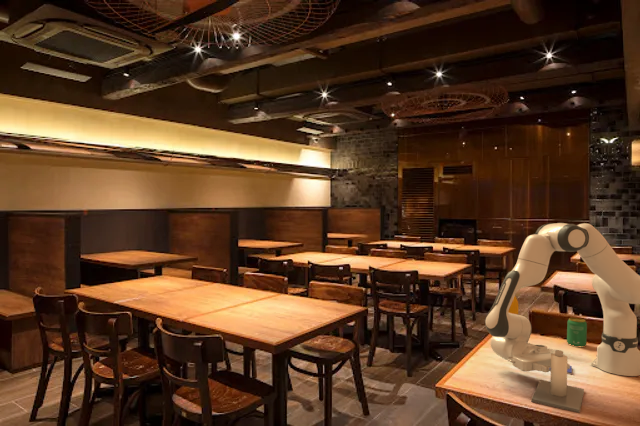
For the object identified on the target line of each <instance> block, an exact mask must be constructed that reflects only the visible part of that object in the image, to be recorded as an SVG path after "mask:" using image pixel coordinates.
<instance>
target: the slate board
mask: <svg viewBox="0 0 640 426" xmlns="http://www.w3.org/2000/svg"><path fill="white" fill-rule="evenodd" d="M584 392H585V389H584V388H582V387H577V386H572V385H568V384H567V396H565V397H560V396H555V395H553V394H551V393H550V381H547V380H544V379H543V380H542V379H541V380H540V379H539V382H538V384H537V386H536V388H535V390H534V392H533V394H532V397H531V403H535V404H539V405H544V406H547V407H552V408H557V409H562V410H565V411H570V412H574V413H578V414H580V412H581V407H582V402H583V398H584V395H585V393H584Z"/></svg>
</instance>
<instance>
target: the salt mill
mask: <svg viewBox="0 0 640 426" xmlns="http://www.w3.org/2000/svg"><path fill="white" fill-rule="evenodd" d="M563 354H564V351H563V350H560V349H559V350H558V349H555V354H551V371H550V380H549V382H550V393H551V394H553V395H555V396H560V397H565V396H567V385H568V374H567V363H568V356H567V355H565V354H564V355H563Z"/></svg>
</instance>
